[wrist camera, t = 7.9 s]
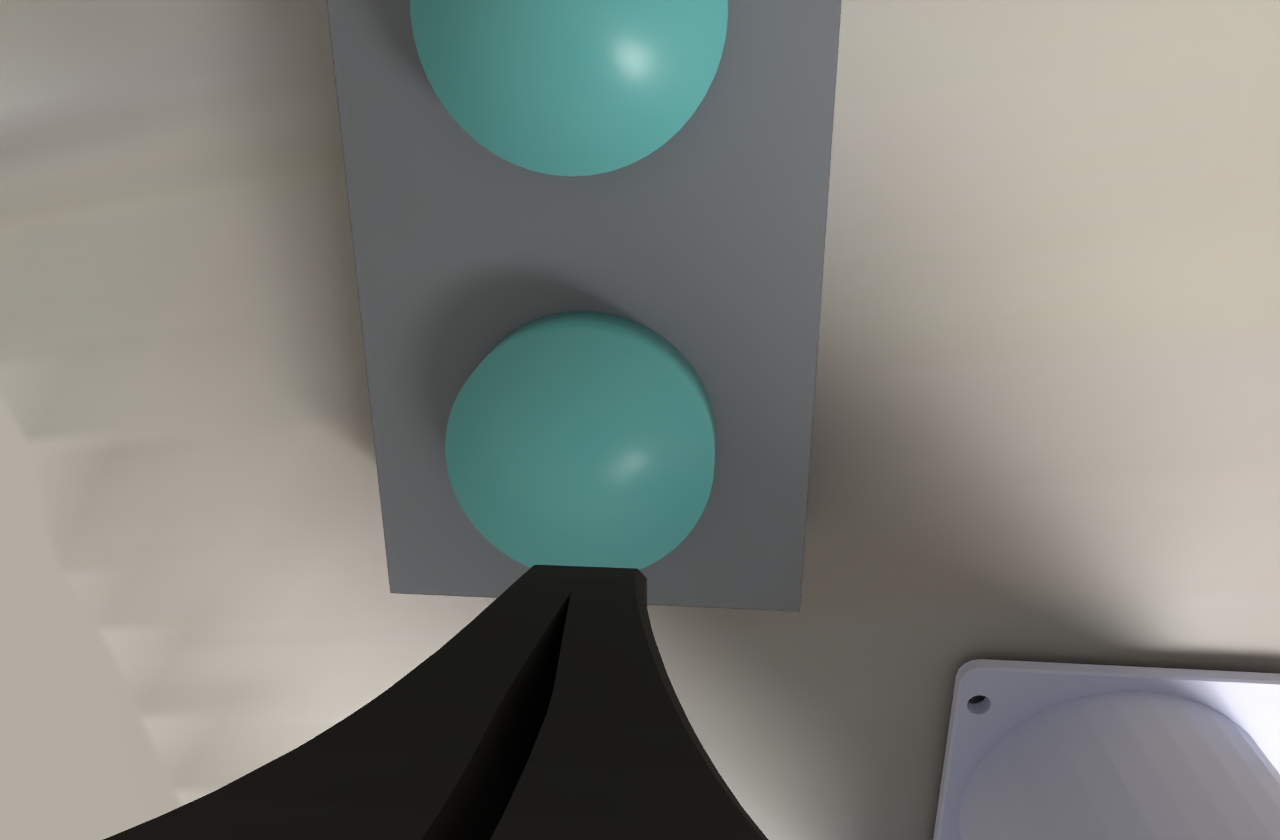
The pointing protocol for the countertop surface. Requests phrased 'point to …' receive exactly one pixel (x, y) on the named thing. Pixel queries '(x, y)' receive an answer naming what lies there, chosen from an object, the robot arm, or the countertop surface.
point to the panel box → (598, 286)
